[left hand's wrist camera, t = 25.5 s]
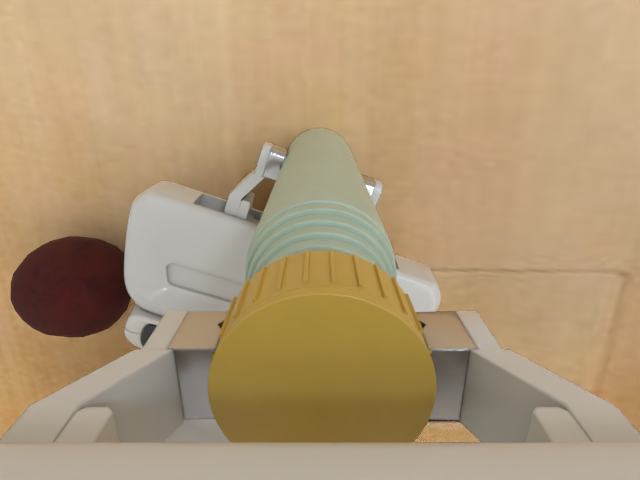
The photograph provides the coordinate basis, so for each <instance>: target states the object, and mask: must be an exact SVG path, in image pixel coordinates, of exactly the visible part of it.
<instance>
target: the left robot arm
mask: <svg viewBox="0 0 640 480" xmlns="http://www.w3.org/2000/svg"><path fill="white" fill-rule="evenodd" d="M416 314H417V317H418V319H419V322H420V323H421V326H422V328H423V333H422V335H423V338H424V340H425V343H426V345H427V348H428V350H432V353H431V354H430V356H431V358H432V361H433V363H434V368H435V373H436V385H437V389H436V398H435V403H434V406H433V410H432V413H431V415H430V418H429V419H437V420H460V423H461V424H463V425H464V426H465V427H466V428H467V429H468V430H469V431H470V432H471V433H472V434H473V435H474V436H475V437H476V438H477V439H478V440H480V441H481V442H164V441H165V440H166V439H167V438H168V437H169V436H170V435H171V434H172V433H173V432H174V431H175V430H176V429H177V428H178V427H179V426H180V425H182V424H183V423H184V420H206V419H215V418H214V416H213V413H212V410H211V407H210V403H209V398H208V389H207V387H208V374H209V369H210V365H211V362H212V359H213V358H212V357H211V354H212V353H214V354H215V351H216V348H217V346H218V343H219V340H220V338H221V337H220V336H218V335H219V333H220V330H221V328H222V325H223V323H224V320H225V317H226V315H227V312H221V311H168V312H166V313H165V314H164V316H163V317H162V319H161V320H160V322H159V323H158V325H157V327H156V328H155V330H154V331H153V333H152V334H151V336H150V337H149V339H148V340H147V342H146V343H145V345H144V347H143V348H142V349H135V350H133V351H131V352H129V353H127V354H125V355H124V356H122V357H120V358H118V359H116V360H114V361H112V362H110V363H108V364H107V365H105V366H103V367H101V368H99V369H97V370H95V371H93V372H92V373H90V374H88V375H86V376H84V377H82V378H80V379H78V380H76V381H75V382H73V383H71V384H69V385H67V386H65V387H63V388H61V389H59V390H58V391H56V392H54V393H52V394H50V395H48V396H46V397H44V398H42V399H41V400H39V401H37V402H35V403H33V404H31V405H30V406H29V407H28V408H27V409H26V410H25V411H24V413H23V414H22V415H21V416H20V417H19V418H18V419H17V421H16V422H15V423H14V424H13V425H12V426H11V427H10V429H9V430H8V431H7V432H6V433H5V434H4V435H3V437H2V438H1V439H0V480H640V432H639V431H638V430H637V429H636V428H635V427H634V426H633V425H632V423H631V422H630V421H629V420H628V419H627V418H626V417H625V416H624V414H623V413H622V412H621V411H620V410H619V409H618V408H617V406H615V405H613V404H612V403H610V402H608V401H606V400H604V399H602V398H600V397H598V396H596V395H595V394H593V393H591V392H589V391H587V390H585V389H583V388H581V387H579V386H577V385H576V384H574V383H572V382H570V381H568V380H566V379H564V378H562V377H560V376H558V375H557V374H555V373H553V372H551V371H549V370H547V369H545V368H543V367H541V366H540V365H538V364H536V363H534V362H532V361H530V360H528V359H526V358H524V357H522V356H521V355H519V354H517V353H515V352H513V351H511V350H509V349H502V348H501V347H500V345H499V344H498V342H497V341H496V339H495V338H494V336H493V335H492V333H491V332H490V330H489V329H488V327H487V326H486V324H485V323H484V321H483V320H482V318H481V317H480V315H479V314H478V312H476V311H474V310H472V311H437V312H416Z"/></svg>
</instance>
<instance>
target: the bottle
mask: <svg viewBox="0 0 640 480" xmlns="http://www.w3.org/2000/svg"><path fill="white" fill-rule="evenodd" d="M306 250H309V251H330V250H334V252H341V253H346V254H350V255H354V254H355V255H357V256H358V257H359V258H362V259H364V260H367V261H368V262H370V263H372V264H374V265H375V263H376V264H378V265H379V268H380V269H382V270H383V271H384V272H386V273H387V274H388V275H389V276H390V277H391V278H393V277H395V278H396V279H397V274H396V264H395V256H394V251H393V248H392V245H391V242H390V240H389V238H388V235H387V233H386V231H385V229H384V226H383V224H382V222H381V219H380V217H379V215H378V212H377V210H376V208H375V206H374V203H373V201H372V199H371V196H370V194H369V192H368V189H367V187H366V185H365V183H364V180H363V178H362V176H361V173H360V171H359V169H358V166H357V164H356V162H355V160H354V157H353V155H352V153H351V150H350V148H349V146H348V144H347V143H346V141H345V140H344V139H343V138H342V137H341V136H340V135H339V134H338V133H336V132H334V131H332V130H329V129H325V128H313V129H309V130H307V131H305V132H303V133H301V134H300V135H299V136H297V137H296V138H295V140H294V141H293V142H292V144H291V146H290V148H289V150H288V153H287V156H286V158H285V161H284V163H283V165H282V167H281V170H280V172H279V175H278V177H277V180H276V182H275V185H274V187H273V190H272V192H271V194H270V197H269V199H268V202H267V204H266V207H265V209H264V212H263V214H262V217H261V219H260V221H259V224H258V226H257V229H256V231H255V234H254V236H253V239H252V241H251V244H250V246H249V249H248V253H247V257H246V268H245V281H246V280H248V281H249V280H250V279H251V278H252V277H253V276H254V275H255V274H256V273H258V272H259V271H260V270H261V267H263V266H265V267H266V266H268V265H269V264H271V263H273V262H275V261H277V260H279V259H282V257H283V256H285V255H286V257H287V256H290V255H294V254H298V253H302V252H305V251H306Z"/></svg>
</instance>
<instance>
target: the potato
mask: <svg viewBox="0 0 640 480" xmlns="http://www.w3.org/2000/svg"><path fill="white" fill-rule="evenodd" d="M130 298H131V297H130V295H129V293H128V291H127V289H126V285H125V280H124V253H123V252H122V251H121V250H120V249H119V248H117V247H116V246H114V245H112V244H109V243H107V242H105V241H102V240H99V239H95V238H86V237H71V236H69V237H65V238H61V239H57V240H53V241H50V242H48V243H46V244H44V245H42V246H40V247H39V248H37V249H36V250H34V251H33V252H31V253H30V254H28V255H27V257H26V258H25V259H24V261H23V262H22V263H21V264H20V266H19V267H18V268H17V270H16V271H15V272H14V274H13V277H12V281H11V301H12V304H13V306H14V309H15V311H16V312H17V313H18V314H19V316H20V317H21V318H22V320H23V321H25V322H26V323H27V324H28V325H30V326H31V327H32V328H34V329H36V330H38V331H40V332H42V333H44V334H47V335H54V336H64V337H84V336H87V335H91V334H94V333H98V332H100V331H103V330H105V329H108V328H109V327H110V326H112V325H113V324H114V323H115V322H116V321H117V320H118V319H119V318H120V317H121V316H122V314H123V313H124V312H125V311H126V310H127V307H128V304H129V301H130Z"/></svg>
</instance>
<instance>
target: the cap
mask: <svg viewBox="0 0 640 480" xmlns="http://www.w3.org/2000/svg"><path fill="white" fill-rule="evenodd" d="M422 333H423V328H422V326H421V323H420V322H419V319H418V317H417V314H416V312H415V309H414V307H413V305H412V302H411V300H410V297H409V295H408V293H407V294H405V293H404V292H403V290H402V289H401V288H400V286H399V285H398V283H397V280H396V278H395V277H393V278H391V277H390V276H389V275H388V274H387V273H386V272H384V271H383V270H382V269H380V268H379V265H378V264H376V263H375V265H374V264H372V263H370V262H368V261H367V260H364V259H362V258H359V257H358V256H357V255H355V254H354V255H350V254H346V253H341V252H334V250H330V251H309V250H306V251H305V252H302V253H298V254H294V255H290V256H287V257H286V255H285V256H283V257H282V259H279V260H277V261H275V262H273V263H271V264H269V265H268V266H266V267H265V266H263V267H261V270H260V271H259V272H258V273H256V274H255V275H254V276H253V277H252V278H251V279H250V280H249V281H248V280H246V281H245V282H244V285H243V288H242V289H241V291H240V292H239V294H238V296H237V297H233V299H232V302H231V304H230V307H229V310H228V312H227V315H226V317H225V320H224V323H223V325H222V328H221V330H220V333H219V335H218V336H220V337H221V338H220V340H219V343H218V346H217V348H216V351H215V354H214V353H212V354H211V357H212V358H213V359H212V362H211V365H210V369H209V374H208V387H207V389H208V398H209V403H210V407H211V410H212V413H213V416H214V418H215V420H216V422H217V424H218V426H219V428H220V429H221V431H222V432H223V434H224V435H225V436H226V438H227V439H228V440H229V441H230V442H414V441H415V440H416V438H417V437H418V436H419V435H420V434H421V432H422V430H423V429H424V427H425V426H426V424H427V422H428V420H429V418H430V415H431V413H432V410H433V406H434V403H435V398H436V389H437V385H436V373H435V368H434V363H433V361H432V358H431V356H430V354H431V353H432V350H428V348H427V345H426V343H425V340H424V338H423V335H422Z"/></svg>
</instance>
